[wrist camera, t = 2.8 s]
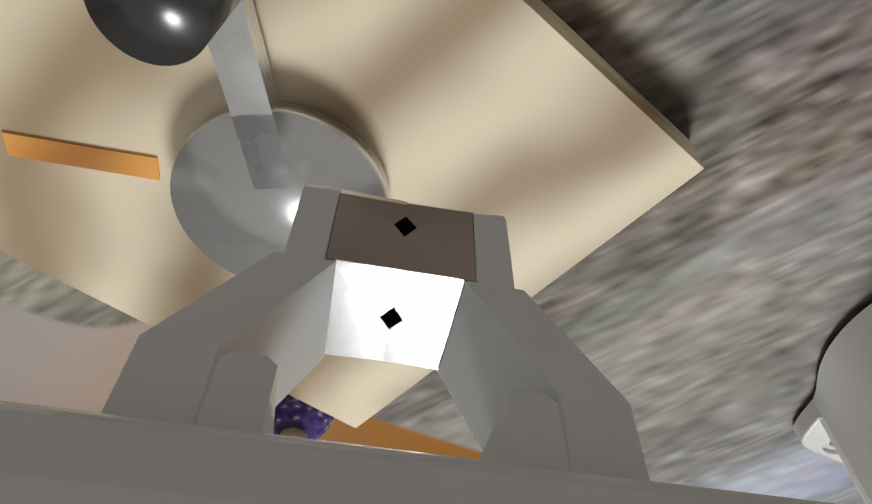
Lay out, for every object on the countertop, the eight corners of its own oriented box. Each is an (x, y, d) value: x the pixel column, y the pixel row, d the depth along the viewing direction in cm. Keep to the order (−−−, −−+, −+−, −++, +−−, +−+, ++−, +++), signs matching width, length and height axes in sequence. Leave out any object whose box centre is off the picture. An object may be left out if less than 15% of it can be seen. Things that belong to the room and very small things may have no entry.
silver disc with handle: (402, 269, 27) (391, 365, 23) (216, 277, 28) (175, 371, 24) (338, -128, 18) (301, -81, 14) (61, -101, 18) (-49, -50, 15)
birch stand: (689, 140, 25) (704, 169, 24) (360, 397, 37) (355, 429, 35) (164, -356, 17) (131, -362, 15) (-54, 181, 28) (-86, 210, 26)
